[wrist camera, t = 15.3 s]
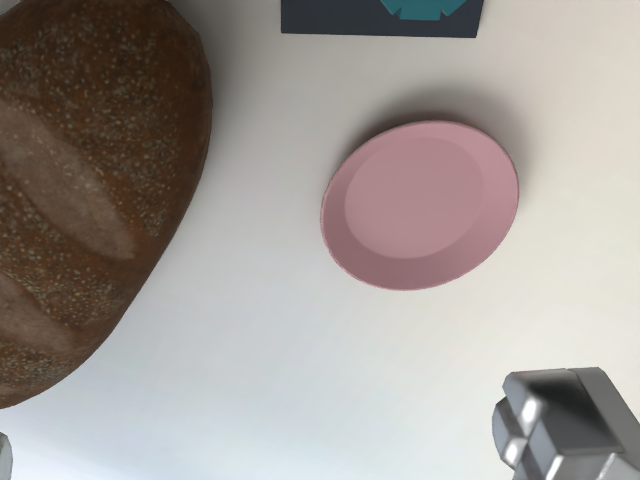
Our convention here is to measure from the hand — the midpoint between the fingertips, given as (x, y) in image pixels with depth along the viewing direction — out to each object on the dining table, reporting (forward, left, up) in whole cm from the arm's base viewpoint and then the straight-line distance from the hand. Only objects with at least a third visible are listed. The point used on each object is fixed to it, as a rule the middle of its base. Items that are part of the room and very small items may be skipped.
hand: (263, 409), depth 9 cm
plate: (+12, -14, -30) cm, 35 cm away
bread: (-15, -15, -30) cm, 37 cm away
